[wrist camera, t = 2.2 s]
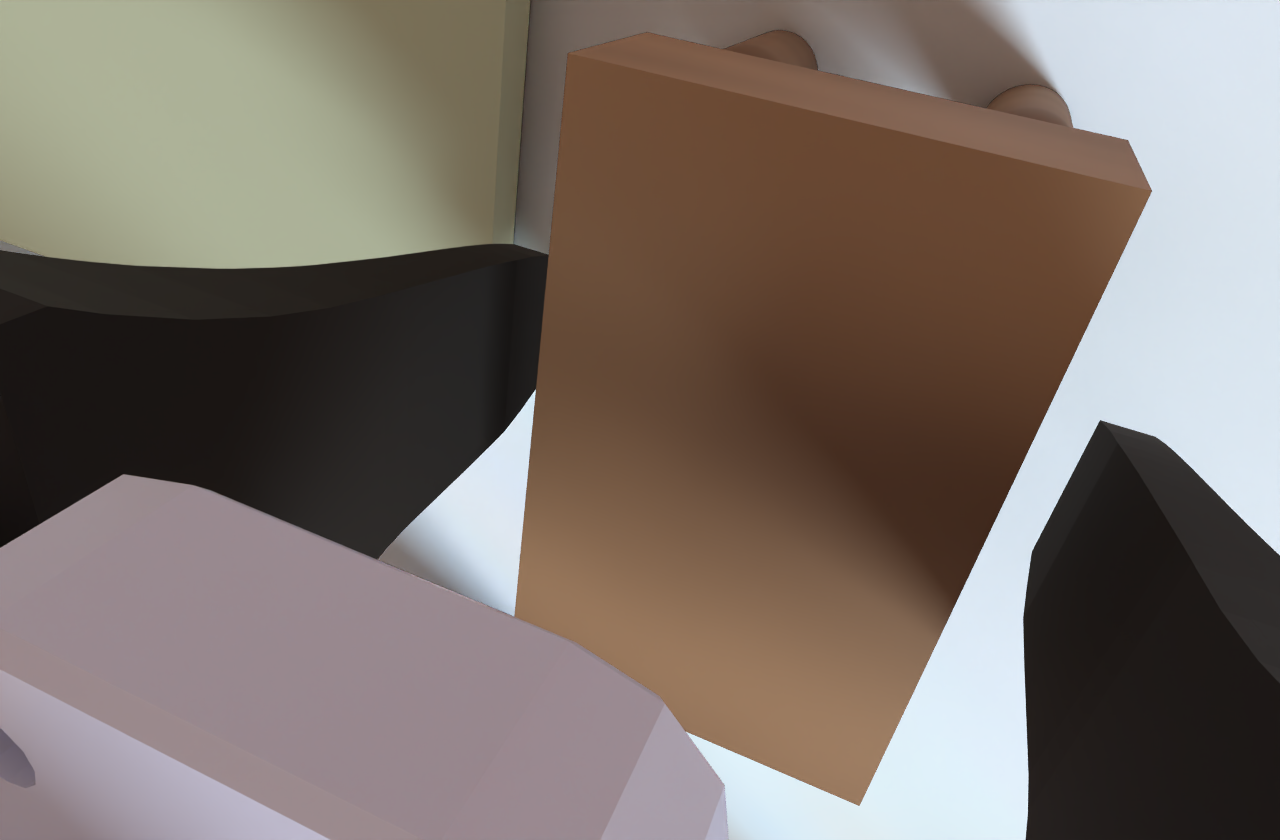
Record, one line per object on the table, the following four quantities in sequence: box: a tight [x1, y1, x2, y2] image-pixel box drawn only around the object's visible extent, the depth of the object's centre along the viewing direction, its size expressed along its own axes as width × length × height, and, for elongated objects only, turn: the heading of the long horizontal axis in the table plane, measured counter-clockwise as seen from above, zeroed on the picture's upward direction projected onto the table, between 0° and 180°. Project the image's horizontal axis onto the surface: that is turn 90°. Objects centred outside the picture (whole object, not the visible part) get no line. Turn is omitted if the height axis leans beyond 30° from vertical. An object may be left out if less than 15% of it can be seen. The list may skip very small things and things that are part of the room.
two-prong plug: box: [515, 30, 1152, 806], centre depth 12 cm, size 8×5×6 cm, turn 173°
